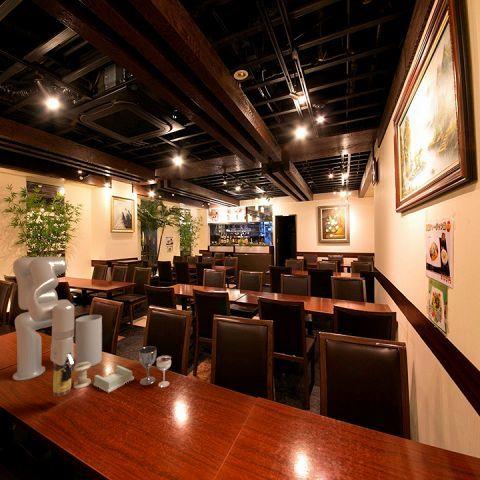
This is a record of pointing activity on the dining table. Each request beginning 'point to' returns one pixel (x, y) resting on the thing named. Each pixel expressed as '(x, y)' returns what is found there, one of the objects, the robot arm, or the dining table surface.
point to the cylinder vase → (89, 339)
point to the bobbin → (82, 375)
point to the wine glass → (147, 362)
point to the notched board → (114, 379)
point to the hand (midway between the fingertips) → (62, 376)
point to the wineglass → (163, 368)
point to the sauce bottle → (60, 381)
